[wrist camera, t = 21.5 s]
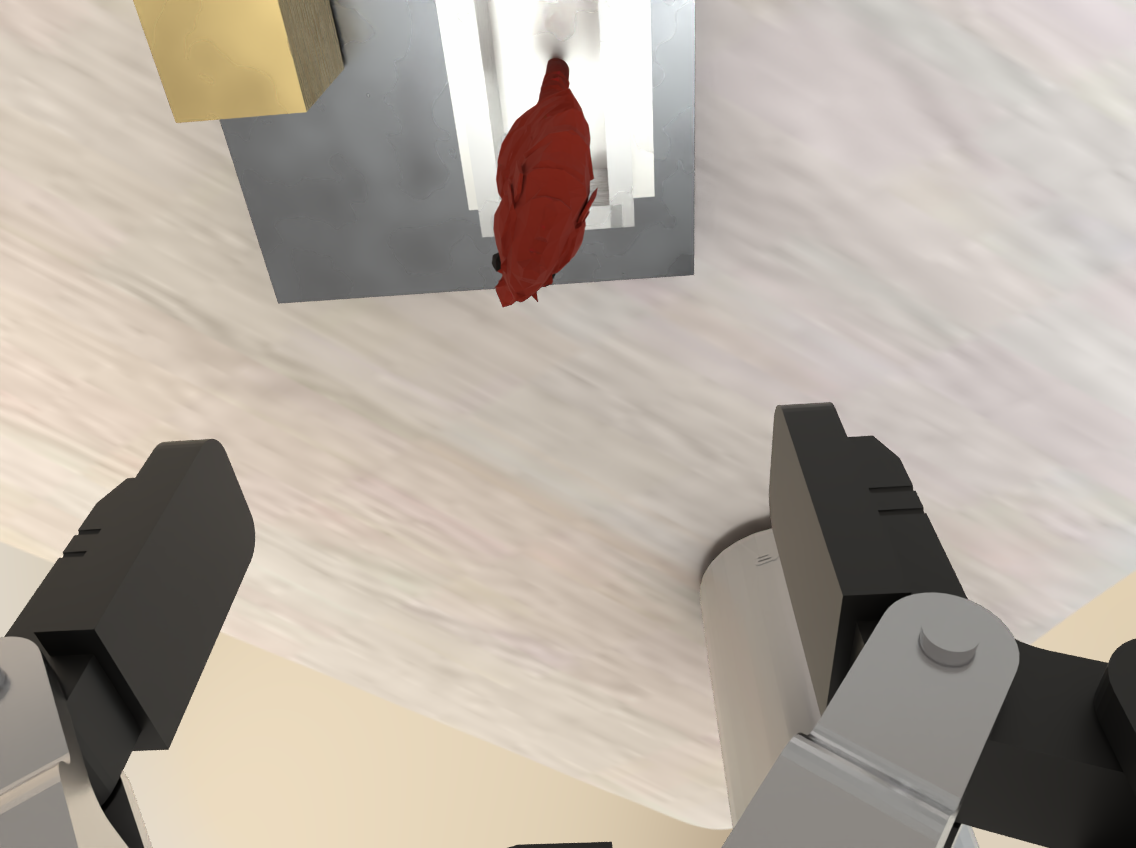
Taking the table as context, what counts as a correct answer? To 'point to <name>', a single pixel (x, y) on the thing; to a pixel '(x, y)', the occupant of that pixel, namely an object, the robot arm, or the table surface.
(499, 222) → the toy
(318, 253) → the press frame
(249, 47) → the slider
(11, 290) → the table surface
